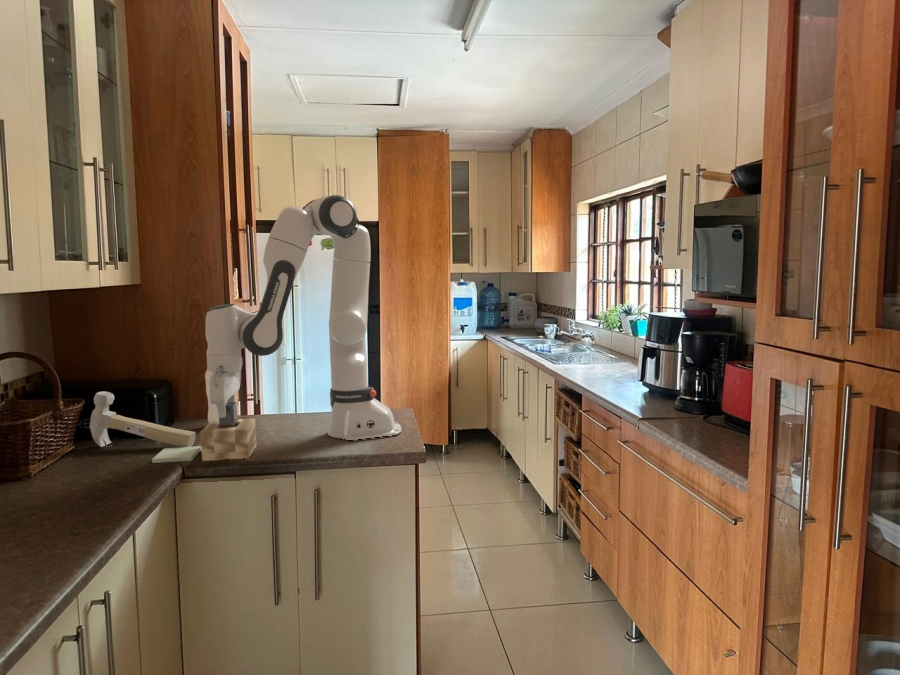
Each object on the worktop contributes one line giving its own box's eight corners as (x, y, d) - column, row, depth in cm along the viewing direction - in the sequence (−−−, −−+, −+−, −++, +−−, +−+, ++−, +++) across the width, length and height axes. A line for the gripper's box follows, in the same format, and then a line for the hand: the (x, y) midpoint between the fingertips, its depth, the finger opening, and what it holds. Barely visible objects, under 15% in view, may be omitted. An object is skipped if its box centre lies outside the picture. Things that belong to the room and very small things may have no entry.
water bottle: (203, 426, 194) (198, 351, 191) (223, 422, 200) (219, 348, 197) (216, 430, 190) (211, 352, 187) (236, 425, 195) (231, 350, 192)
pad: (201, 449, 169) (201, 446, 169) (191, 460, 159) (191, 456, 159) (164, 451, 168) (164, 448, 168) (152, 462, 158) (151, 459, 158)
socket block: (256, 445, 172) (255, 418, 171) (248, 458, 160) (246, 429, 160) (213, 447, 171) (211, 420, 170) (202, 461, 159) (200, 431, 158)
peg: (239, 443, 168) (236, 401, 166) (236, 447, 164) (233, 404, 162) (224, 444, 167) (221, 402, 166) (220, 448, 163) (218, 405, 162)
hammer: (199, 413, 172) (103, 390, 174) (191, 417, 168) (92, 393, 170) (191, 464, 174) (96, 440, 176) (183, 469, 170) (85, 445, 172)
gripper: (227, 369, 153) (230, 422, 154) (243, 357, 173) (245, 404, 174) (202, 370, 152) (204, 422, 153) (221, 358, 172) (223, 405, 174)
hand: (226, 413), depth 164 cm, fingers open, 8 cm apart
